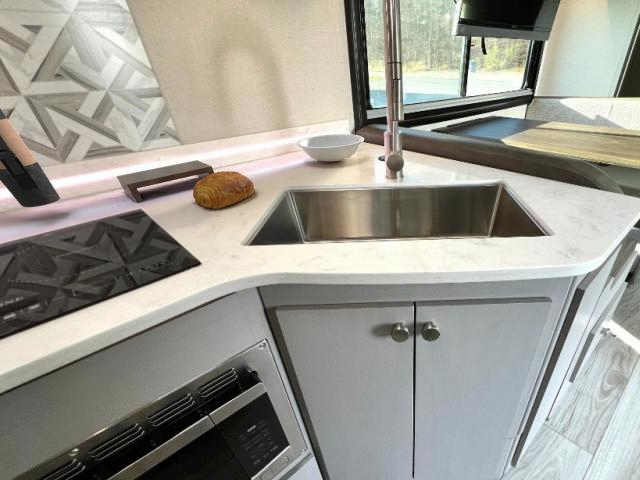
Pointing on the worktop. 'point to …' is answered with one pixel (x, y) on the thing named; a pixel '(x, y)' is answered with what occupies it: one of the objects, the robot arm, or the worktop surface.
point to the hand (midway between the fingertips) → (28, 184)
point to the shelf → (161, 176)
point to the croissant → (222, 189)
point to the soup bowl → (331, 146)
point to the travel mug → (30, 196)
